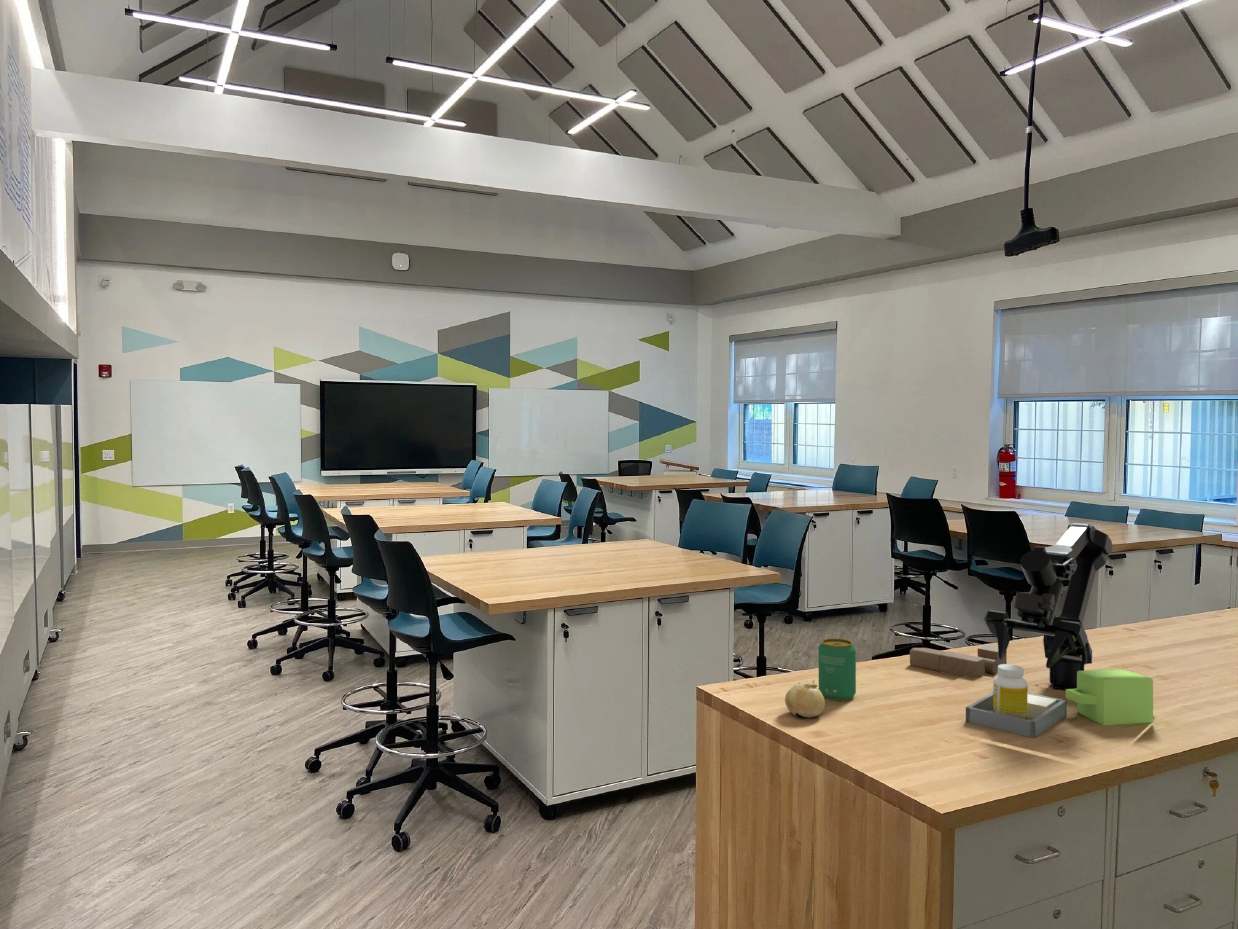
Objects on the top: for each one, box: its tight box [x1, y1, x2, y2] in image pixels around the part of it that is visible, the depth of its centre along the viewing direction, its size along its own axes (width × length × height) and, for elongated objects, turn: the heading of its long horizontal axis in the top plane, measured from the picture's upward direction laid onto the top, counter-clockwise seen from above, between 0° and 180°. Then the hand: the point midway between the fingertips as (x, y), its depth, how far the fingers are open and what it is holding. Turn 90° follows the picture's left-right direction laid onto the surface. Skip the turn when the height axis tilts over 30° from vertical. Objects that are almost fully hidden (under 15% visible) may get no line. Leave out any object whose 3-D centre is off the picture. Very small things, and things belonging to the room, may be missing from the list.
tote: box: [965, 691, 1068, 739], centre depth 172 cm, size 18×13×4 cm
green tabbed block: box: [1065, 669, 1154, 726], centre depth 173 cm, size 18×10×10 cm, turn 98°
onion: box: [784, 680, 826, 718], centre depth 177 cm, size 8×8×7 cm
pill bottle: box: [992, 663, 1029, 720], centre depth 170 cm, size 6×6×11 cm
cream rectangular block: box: [1027, 694, 1057, 719], centre depth 175 cm, size 6×10×3 cm, turn 45°
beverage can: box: [818, 638, 857, 702], centre depth 189 cm, size 8×8×12 cm
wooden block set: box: [909, 643, 1008, 678], centre depth 212 cm, size 17×6×18 cm
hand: (1023, 662), depth 174 cm, fingers open, 9 cm apart
